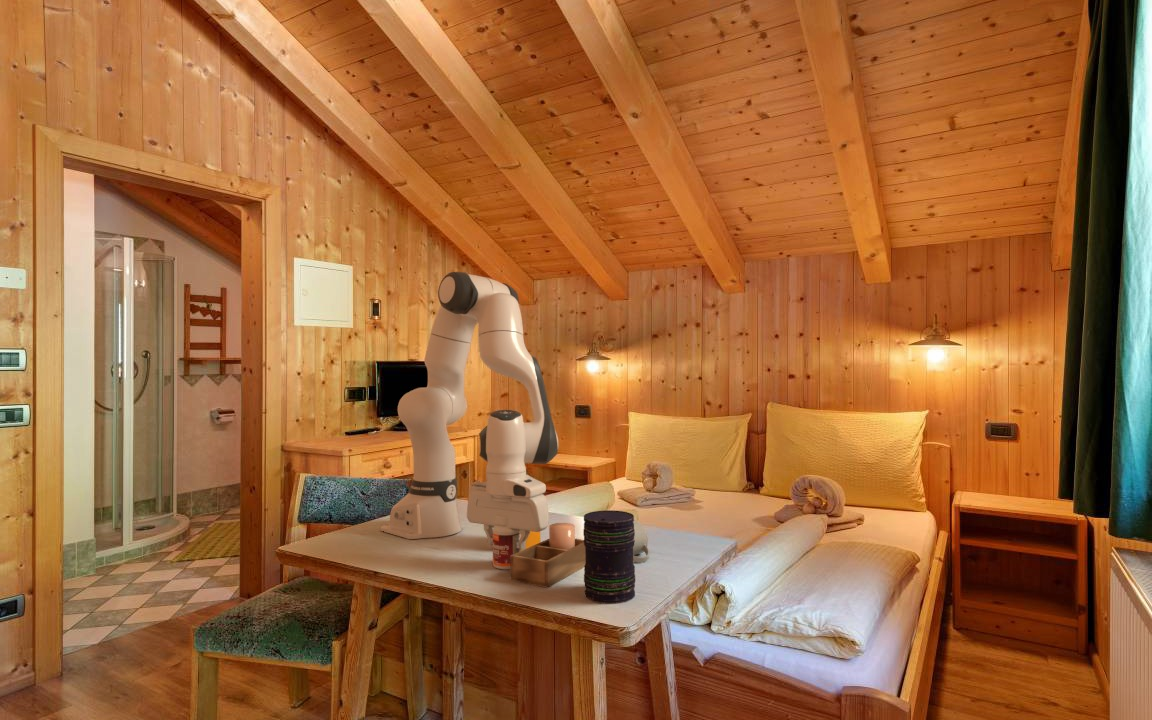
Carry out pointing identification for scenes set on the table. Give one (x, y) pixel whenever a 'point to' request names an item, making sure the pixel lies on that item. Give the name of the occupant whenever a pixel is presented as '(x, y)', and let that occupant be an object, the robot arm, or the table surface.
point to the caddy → (546, 563)
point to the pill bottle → (504, 543)
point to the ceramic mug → (640, 543)
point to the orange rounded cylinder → (562, 535)
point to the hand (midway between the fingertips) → (506, 546)
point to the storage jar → (609, 556)
